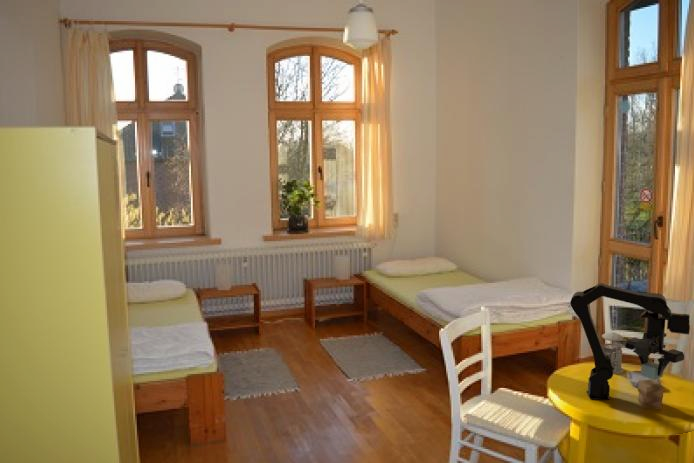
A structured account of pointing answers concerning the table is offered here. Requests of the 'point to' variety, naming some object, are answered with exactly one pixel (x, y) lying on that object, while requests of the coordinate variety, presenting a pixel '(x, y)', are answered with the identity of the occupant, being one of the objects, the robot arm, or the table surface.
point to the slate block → (650, 370)
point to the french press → (614, 348)
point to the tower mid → (650, 389)
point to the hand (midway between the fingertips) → (652, 373)
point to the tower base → (650, 402)
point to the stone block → (638, 378)
